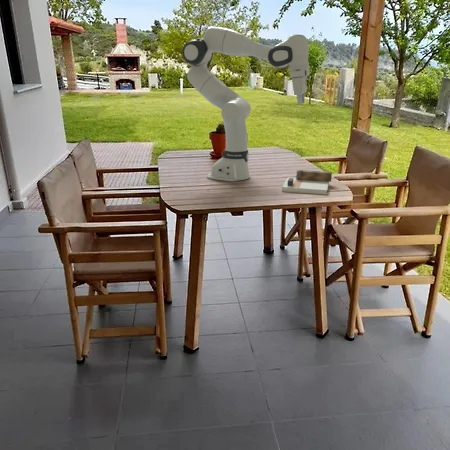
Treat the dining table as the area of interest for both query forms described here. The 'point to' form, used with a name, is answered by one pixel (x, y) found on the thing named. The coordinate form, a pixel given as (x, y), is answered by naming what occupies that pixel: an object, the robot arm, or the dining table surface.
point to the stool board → (305, 186)
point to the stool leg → (313, 175)
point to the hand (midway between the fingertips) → (301, 104)
